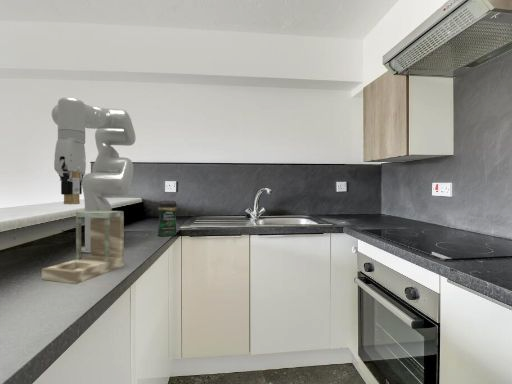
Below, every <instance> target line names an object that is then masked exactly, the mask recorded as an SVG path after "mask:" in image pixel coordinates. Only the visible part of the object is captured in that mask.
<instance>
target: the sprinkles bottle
mask: <svg viewBox="0 0 512 384" xmlns="http://www.w3.org/2000/svg"><path fill="white" fill-rule="evenodd" d="M78 168H79V169H80V167H78ZM79 169H78V171H77V172H72V179H71V182H73V194H72V195H63V205H80V204H81V202H80V195H81V194H80V178H79ZM65 171H68V170H65ZM67 176H68V174H67Z"/></svg>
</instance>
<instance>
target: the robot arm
mask: <svg viewBox="0 0 512 384" xmlns="http://www.w3.org/2000/svg"><path fill="white" fill-rule="evenodd" d="M51 118H52V121H53V122H54V123H55V125H56V126H57V140H56V144H55V149H54V163H53V168H54V171H55V172H56V173H57V174H58V176H59V181H60V194H61V195H63V196H64V195H72V194H73V182H71V179H72V172H77V171H78V169H79V168H78V167H80V169H79V178H80V194H79V195H82V194H83V199H84V200H83V201H84V211H91V210H101V211H112V206H111V204H110V201H109V200H108V199H107V198H106V197H110V196H111V197H113V196H114V197H118V196H119V197H123V196H125V195H127V194H128V193H129V190H130V186H131V183H132V179H133V176H134V164H133V163H134V162H132V160H131V159H130V158H128V157H123V156H121V157H120V154H119V153H118V151H117V150H116V149H115V148H114V147H113V146H128V147H129V146H133V145H134V144H135V142H136V133H135V129H134V125H133V122H132V118H131V116H130V114H129V113H128V112H127V110H125V109H120V108H119V109H118V108H105V107H100V106H91V105H88V104H85V102H84V101H82V100H81V99H79V98H74V97H61V98H60V99H58V101H57V104H56V105H55V106H54V107H53V108H52V110H51ZM86 129H92V130H93V129H94V130H95V134H94V141H95V146H96V148H97V152H98V154H97V156H96V157H95V158H96V159H95V161H94V163H93V166H92V172H89V173H87V174H86V167H87V161H86V159H87V158H86V148H85V144H86ZM65 170H68V171H65ZM67 174H68V176H67ZM81 253H84V254H85V253H87V254H89V253H90V254H91V241H90V217H84V246H81Z"/></svg>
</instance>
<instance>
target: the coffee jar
mask: <svg viewBox="0 0 512 384" xmlns="http://www.w3.org/2000/svg"><path fill="white" fill-rule="evenodd" d="M177 207H178V206H177V202H176V200H160V201H159V202H158V207H157V210H158V213H159V218H158V227H157V228H158V229H157V235H158V236H159V235H160V237H172V236H173V237H174V236H176V235H177V233H178V230H177V221H176V220H177V217H176V213H177V210H178V208H177Z"/></svg>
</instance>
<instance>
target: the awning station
mask: <svg viewBox="0 0 512 384" xmlns="http://www.w3.org/2000/svg"><path fill="white" fill-rule="evenodd" d="M124 215H125V214H124V211H123V210H111V211H101V210H91V211H85V210H84V211H83V210H80V211H75V256H76V257H75V259H73V260H69V261H65V262H62V263H59V264H54V265H51V266H47V267H44V268H42V269H41V280H42V281H51V282H58V283H67V284H75V285H76V284H79V283H82V282H84V281H88V280H91V279H93V278H95V277H98V276H100V275H103V274H106V273H109V272H112V271H114V270H116V269H119V268H123V267H124V266H125V265H124V264H125V259H124V258H125V254H124V253H125V248H124V247H125V246H124V245H125V244H124V243H125V242H124V239H125V238H124V237H125V234H124V233H125V232H124V229H125V228H124V224H125V223H124V222H125V221H124V220H125V219H124V218H125V216H124ZM85 217H90V241H91V253H90V255H88V256H87V255H86V256H84V257H82V252H81V248H82V218H85Z"/></svg>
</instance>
